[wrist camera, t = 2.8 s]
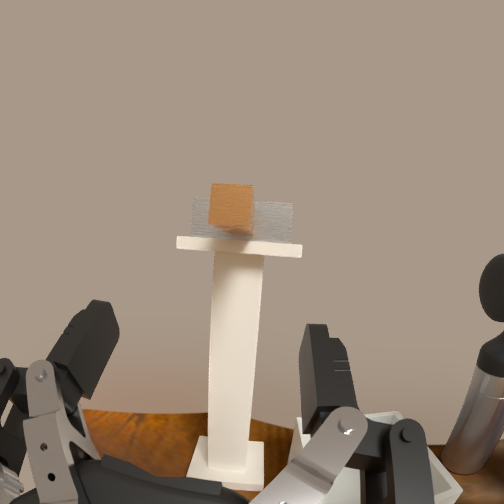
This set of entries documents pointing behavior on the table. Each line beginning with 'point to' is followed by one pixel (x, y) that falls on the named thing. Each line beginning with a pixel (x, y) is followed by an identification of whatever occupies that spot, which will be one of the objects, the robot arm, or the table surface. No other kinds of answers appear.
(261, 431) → the table surface
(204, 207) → the metal head mallet
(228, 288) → the stand
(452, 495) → the box
